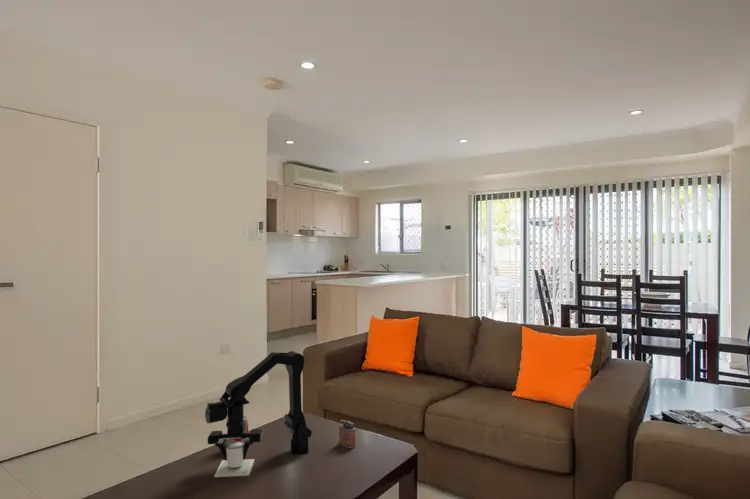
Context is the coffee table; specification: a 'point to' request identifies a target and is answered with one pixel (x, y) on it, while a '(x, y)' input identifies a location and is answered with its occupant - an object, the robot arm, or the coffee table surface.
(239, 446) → the white-topped cylinder
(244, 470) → the plate
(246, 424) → the soda can
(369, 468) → the coffee table surface
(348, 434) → the lighter
